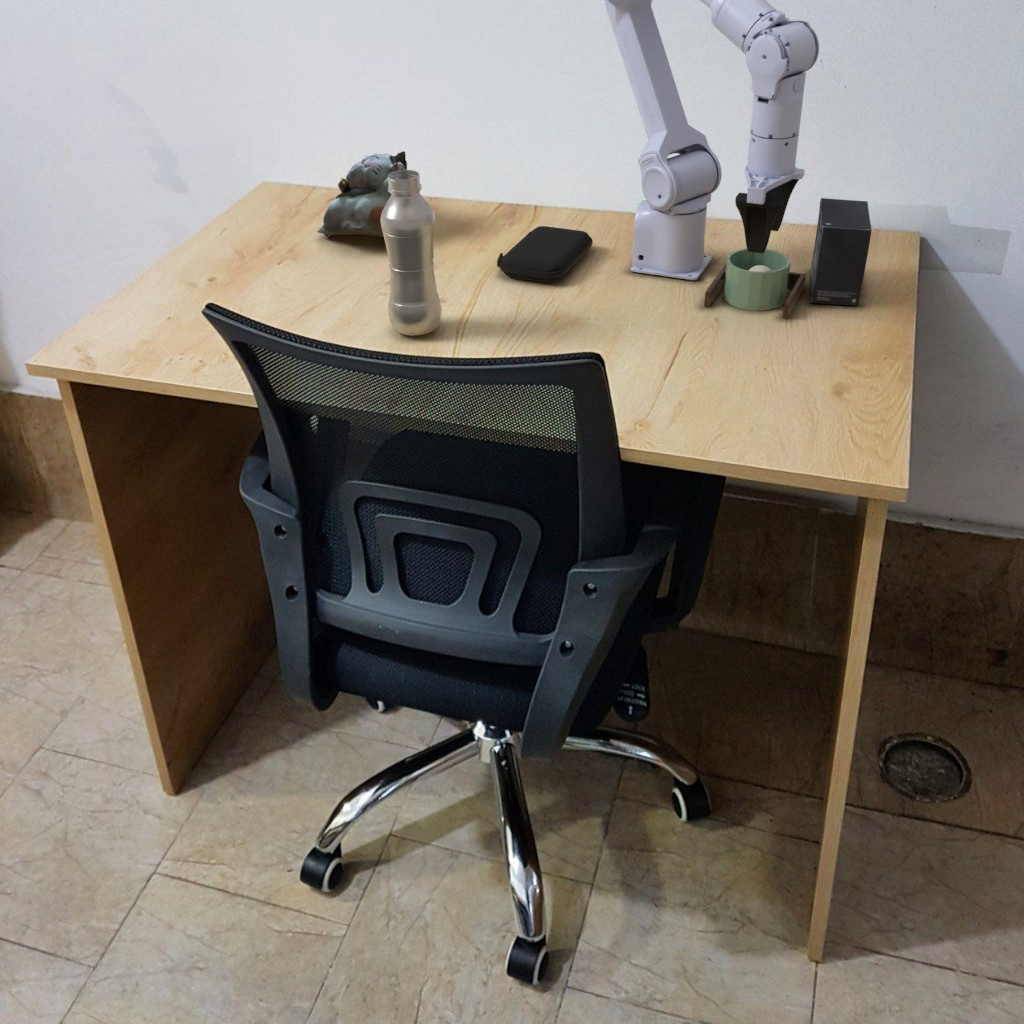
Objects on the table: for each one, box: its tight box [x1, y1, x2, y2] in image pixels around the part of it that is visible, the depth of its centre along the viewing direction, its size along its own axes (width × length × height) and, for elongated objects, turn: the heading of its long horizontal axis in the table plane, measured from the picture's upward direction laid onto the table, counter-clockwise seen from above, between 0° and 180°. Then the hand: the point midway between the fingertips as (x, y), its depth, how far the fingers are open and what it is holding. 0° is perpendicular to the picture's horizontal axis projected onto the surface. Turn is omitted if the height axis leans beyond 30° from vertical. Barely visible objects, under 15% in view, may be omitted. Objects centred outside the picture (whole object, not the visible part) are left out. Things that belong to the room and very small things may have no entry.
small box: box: [809, 197, 873, 307], centre depth 147 cm, size 11×6×10 cm, turn 168°
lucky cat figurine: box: [316, 150, 408, 238], centre depth 168 cm, size 15×12×14 cm
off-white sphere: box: [748, 265, 772, 272], centre depth 146 cm, size 4×4×4 cm
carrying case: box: [496, 225, 594, 284], centre depth 159 cm, size 11×3×15 cm
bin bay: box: [703, 263, 807, 320], centre depth 148 cm, size 11×10×2 cm
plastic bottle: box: [380, 169, 443, 336], centre depth 138 cm, size 6×7×20 cm
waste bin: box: [723, 248, 792, 312], centre depth 147 cm, size 8×8×5 cm
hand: (763, 240), depth 143 cm, fingers open, 7 cm apart
